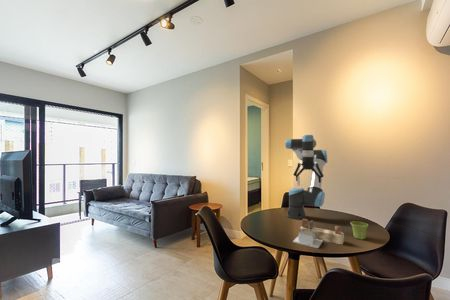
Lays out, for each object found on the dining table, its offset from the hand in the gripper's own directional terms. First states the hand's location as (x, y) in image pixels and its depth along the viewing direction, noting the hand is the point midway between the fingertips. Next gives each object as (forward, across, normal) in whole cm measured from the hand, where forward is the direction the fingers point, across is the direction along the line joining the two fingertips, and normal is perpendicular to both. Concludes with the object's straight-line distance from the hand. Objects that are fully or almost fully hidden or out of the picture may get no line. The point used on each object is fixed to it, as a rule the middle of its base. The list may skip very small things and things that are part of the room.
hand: (308, 186), depth 156 cm
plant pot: (+29, +31, -2) cm, 42 cm away
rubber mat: (+29, +7, -28) cm, 40 cm away
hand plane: (+29, +12, -17) cm, 35 cm away
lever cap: (+28, +7, -28) cm, 40 cm away
